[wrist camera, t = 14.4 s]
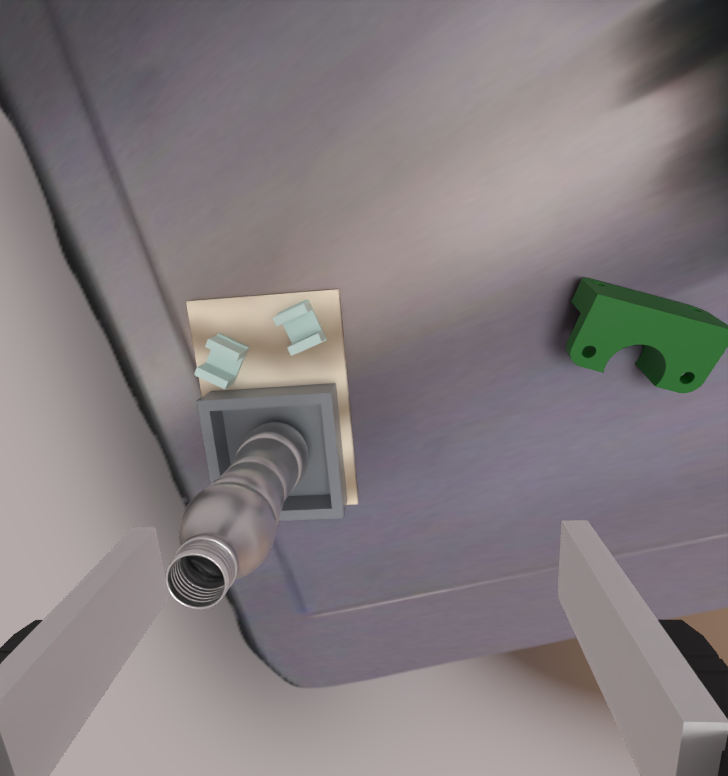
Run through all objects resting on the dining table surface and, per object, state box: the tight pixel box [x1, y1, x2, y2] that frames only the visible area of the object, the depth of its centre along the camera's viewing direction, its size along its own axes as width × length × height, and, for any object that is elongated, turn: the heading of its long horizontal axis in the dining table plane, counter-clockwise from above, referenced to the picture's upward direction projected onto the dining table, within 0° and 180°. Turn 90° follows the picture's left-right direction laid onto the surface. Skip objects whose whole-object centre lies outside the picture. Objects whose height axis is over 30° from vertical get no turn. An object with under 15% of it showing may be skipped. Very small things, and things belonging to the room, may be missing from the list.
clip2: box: [194, 333, 249, 389], centre depth 43 cm, size 4×3×3 cm
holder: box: [197, 383, 347, 521], centre depth 45 cm, size 12×12×4 cm
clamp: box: [566, 278, 728, 393], centre depth 40 cm, size 12×6×9 cm, turn 69°
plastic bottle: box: [165, 422, 308, 610], centre depth 36 cm, size 6×7×20 cm
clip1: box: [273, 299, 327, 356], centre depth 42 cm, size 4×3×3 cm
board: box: [186, 289, 358, 505], centre depth 46 cm, size 21×14×1 cm, turn 5°
